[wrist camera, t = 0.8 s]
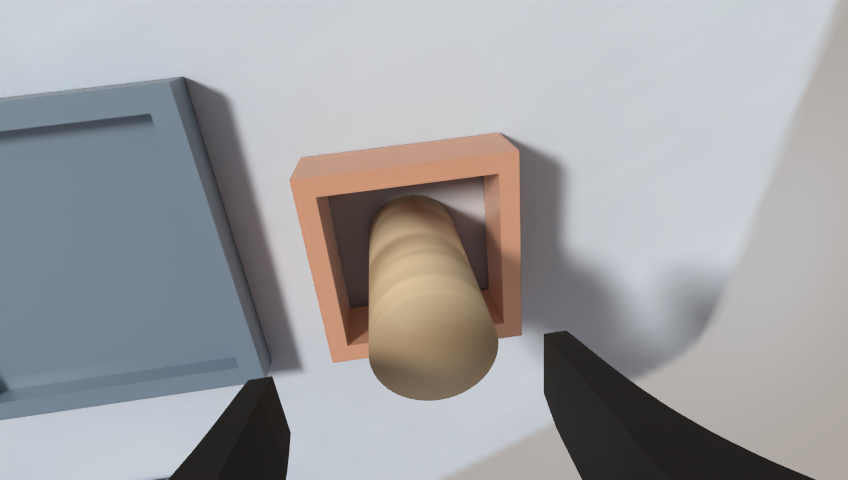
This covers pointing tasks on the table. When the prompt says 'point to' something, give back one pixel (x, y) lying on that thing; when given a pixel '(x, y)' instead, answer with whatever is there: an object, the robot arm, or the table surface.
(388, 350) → the maple peg
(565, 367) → the robot arm
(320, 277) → the hollow square frame
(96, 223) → the slate tray
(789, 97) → the table surface
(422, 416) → the table surface
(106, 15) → the table surface
